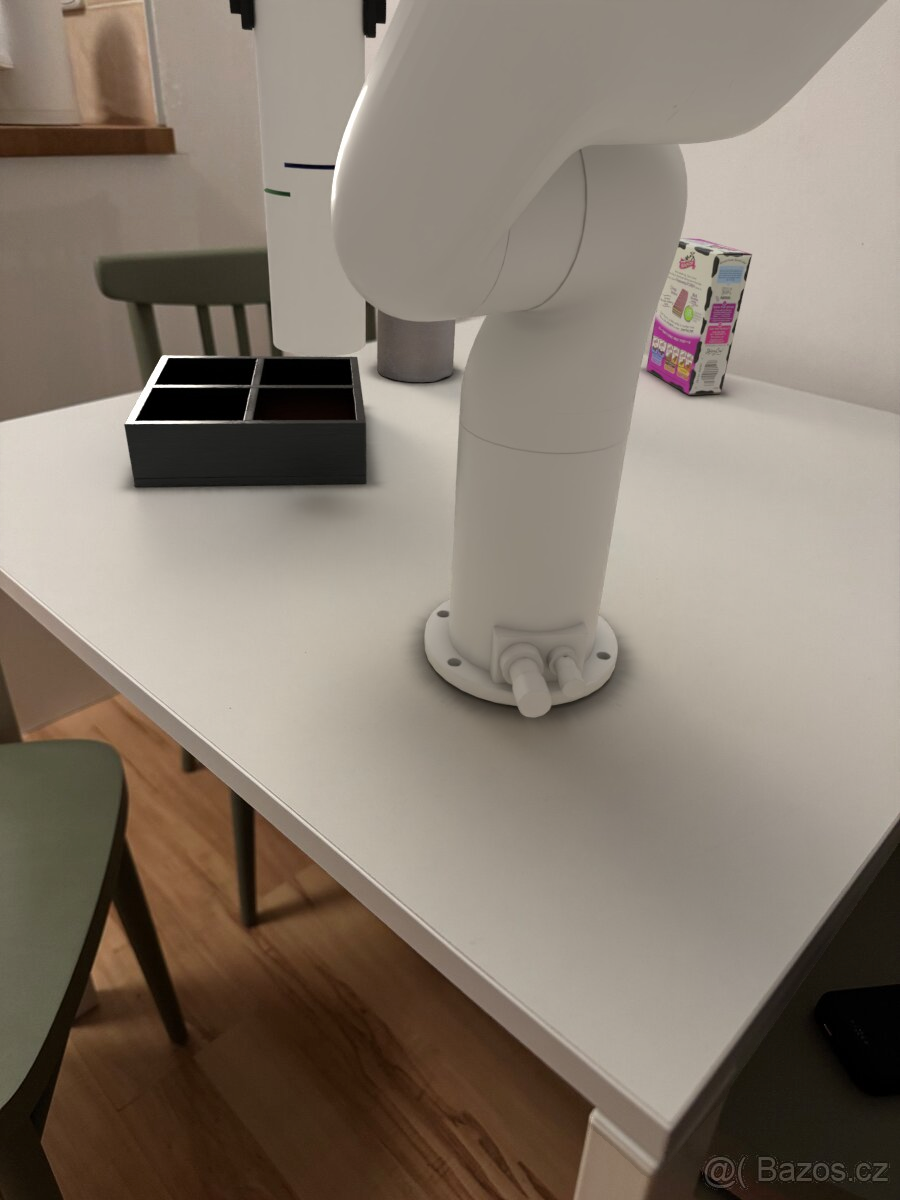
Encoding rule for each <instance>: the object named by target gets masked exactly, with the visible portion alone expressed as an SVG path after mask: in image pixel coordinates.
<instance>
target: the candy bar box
mask: <svg viewBox="0 0 900 1200" xmlns="http://www.w3.org/2000/svg"><path fill="white" fill-rule="evenodd" d="M752 257H753V253H751V252H746V251H743V250H740V249H736V248H734V247H730V246H726V245H722V244H719V243H717V242H713V241H708V240H706V239H701V238H685V237H684V238H682V237H681V238H680V241H679V245H678V249H677V252H676V255H675V258H674V261H673V264H672V267H671V269H670V272H669V275H668V278H667V280H666V283H665V286H664V289H663V291H662V294H661V297H660V300H659V302H658V305H657V308H656V311H655V315H654V323H653V328H652V334H651V339H650V345H649V346H650V347H649V351H648V358H647V363H646V368H645V369H646V371H648V372H649V373H651V374H653V376H656V377H657V378H659V379H660V380H662V381H664V382H666V383H668V384H669V385H671V386H673V387H674V388H676V389H678V390H680V391H682V392H683V393H685V394H687V395H689V396H696V395H697V396H700V395H716V394H721V393H722V392H723V387H724V382H725V377H726V374H727V369H728V364H729V360H730V355H731V350H732V346H733V341H734V338H735V332H736V327H737V324H738V323H737V322H738V319H739V315H740V310H741V306H742V302H743V296H744V293H745V287H746V283H747V278H748V275H749V271H750V265H751V261H752Z"/></svg>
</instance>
